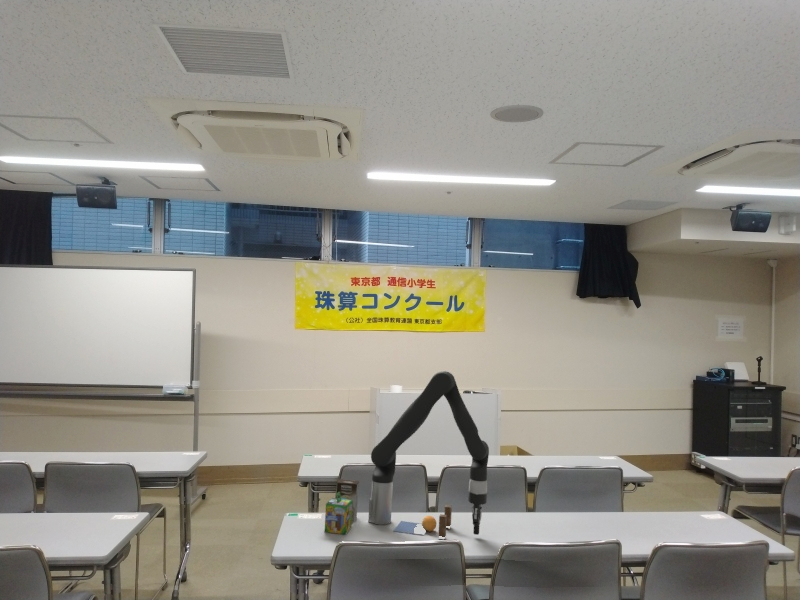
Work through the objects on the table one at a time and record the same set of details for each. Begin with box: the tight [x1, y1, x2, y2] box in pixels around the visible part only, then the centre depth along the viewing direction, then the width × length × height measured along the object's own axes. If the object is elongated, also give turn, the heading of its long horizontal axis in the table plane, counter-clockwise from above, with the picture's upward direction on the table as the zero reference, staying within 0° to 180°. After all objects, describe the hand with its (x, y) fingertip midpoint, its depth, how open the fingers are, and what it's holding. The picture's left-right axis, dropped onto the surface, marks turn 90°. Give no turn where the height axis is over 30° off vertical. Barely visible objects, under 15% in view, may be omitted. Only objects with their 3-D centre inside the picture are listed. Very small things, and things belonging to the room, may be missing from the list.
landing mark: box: [393, 520, 420, 535], centre depth 216 cm, size 13×13×1 cm
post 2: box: [443, 504, 453, 526], centre depth 219 cm, size 3×3×9 cm
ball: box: [421, 515, 437, 532], centre depth 214 cm, size 6×6×6 cm
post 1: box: [438, 513, 447, 537], centre depth 206 cm, size 3×3×9 cm
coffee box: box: [335, 478, 360, 523], centre depth 224 cm, size 9×6×16 cm
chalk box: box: [324, 492, 353, 535], centre depth 210 cm, size 9×9×15 cm
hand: (476, 533), depth 209 cm, fingers closed
